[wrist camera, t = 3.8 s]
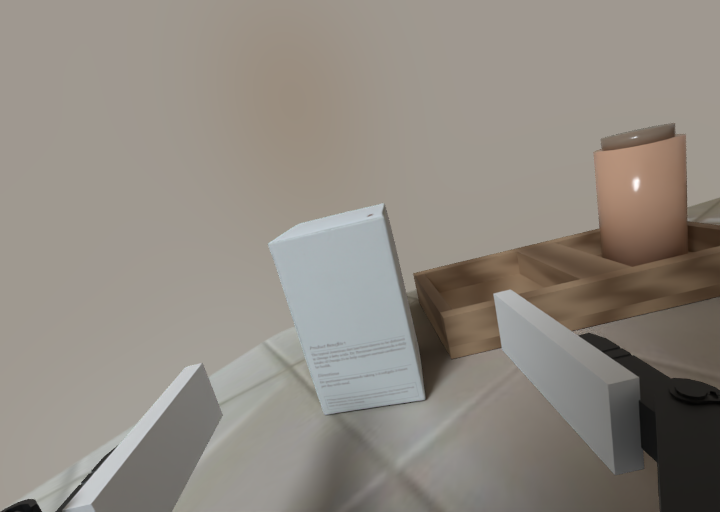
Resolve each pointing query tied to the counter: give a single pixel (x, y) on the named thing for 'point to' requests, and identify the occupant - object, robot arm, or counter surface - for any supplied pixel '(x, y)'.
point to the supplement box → (351, 310)
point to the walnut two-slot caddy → (563, 286)
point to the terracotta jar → (642, 195)
